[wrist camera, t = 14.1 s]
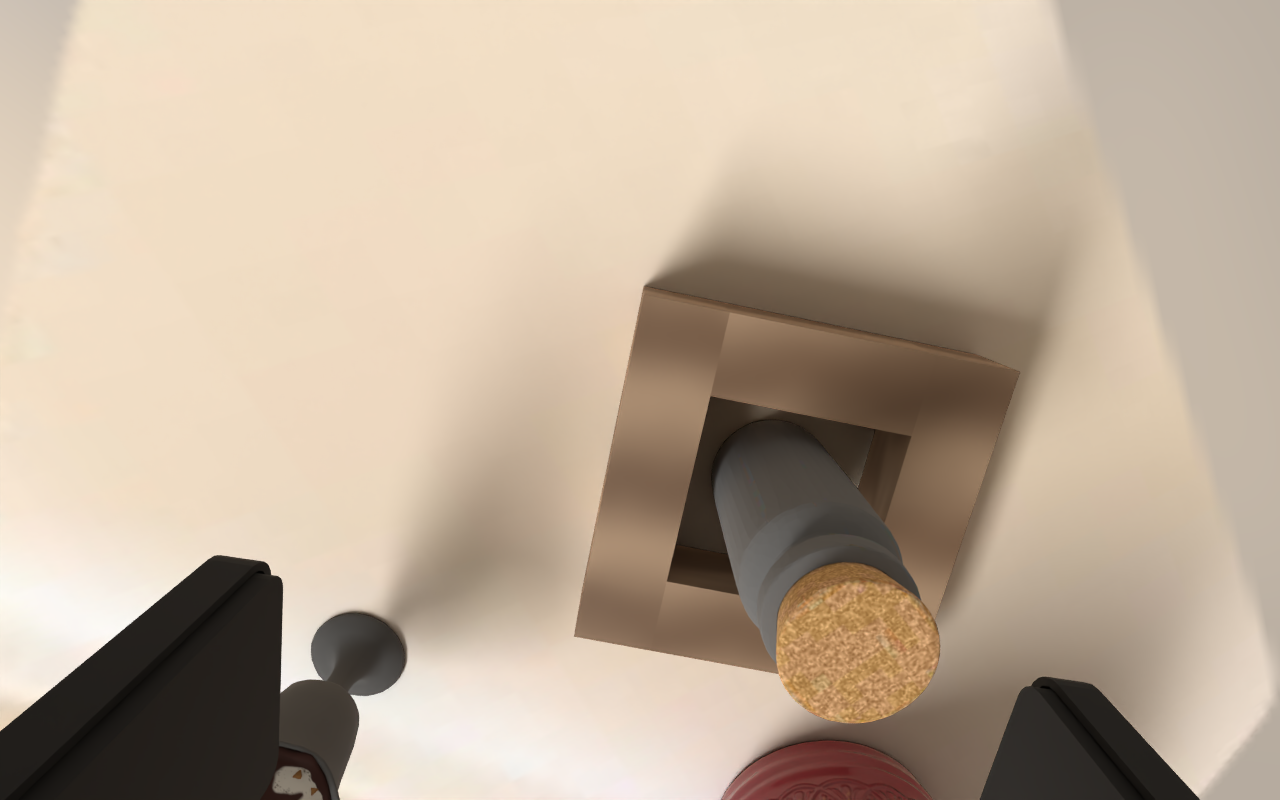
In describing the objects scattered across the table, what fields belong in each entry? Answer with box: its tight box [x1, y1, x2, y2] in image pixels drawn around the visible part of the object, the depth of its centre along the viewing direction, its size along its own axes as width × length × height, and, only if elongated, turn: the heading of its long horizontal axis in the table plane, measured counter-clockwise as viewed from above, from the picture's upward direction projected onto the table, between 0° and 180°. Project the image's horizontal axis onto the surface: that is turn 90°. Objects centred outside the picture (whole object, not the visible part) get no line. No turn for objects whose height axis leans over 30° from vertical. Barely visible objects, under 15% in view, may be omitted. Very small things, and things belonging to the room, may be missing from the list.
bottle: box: [711, 420, 940, 723], centre depth 27 cm, size 6×6×15 cm
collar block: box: [574, 286, 1020, 674], centre depth 33 cm, size 16×16×4 cm
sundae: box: [260, 614, 404, 800], centre depth 30 cm, size 7×7×15 cm
